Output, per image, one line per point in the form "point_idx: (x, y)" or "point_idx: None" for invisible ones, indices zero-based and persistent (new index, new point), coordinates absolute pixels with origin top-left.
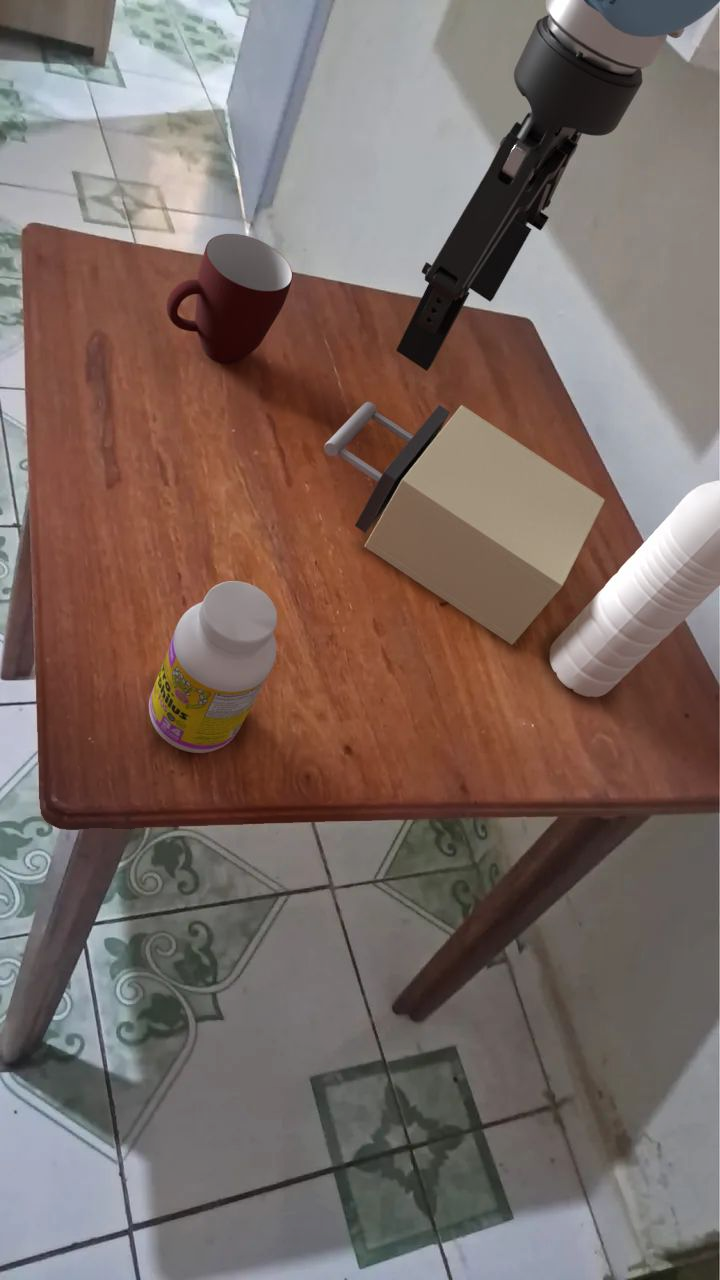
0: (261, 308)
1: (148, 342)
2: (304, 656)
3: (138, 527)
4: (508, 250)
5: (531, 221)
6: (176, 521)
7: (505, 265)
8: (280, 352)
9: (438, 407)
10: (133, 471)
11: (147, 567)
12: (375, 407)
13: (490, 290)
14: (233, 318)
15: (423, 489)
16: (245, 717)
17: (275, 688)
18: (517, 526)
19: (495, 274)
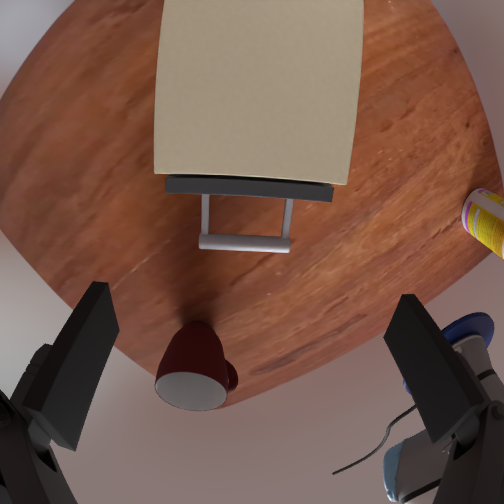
0: (212, 364)
1: (234, 358)
2: (430, 168)
3: (386, 290)
4: (72, 375)
5: (23, 425)
6: (372, 279)
7: (79, 343)
8: (158, 306)
9: (171, 192)
10: (347, 314)
11: (409, 272)
12: (200, 238)
13: (103, 303)
14: (224, 363)
15: (345, 159)
16: (495, 194)
17: (453, 177)
18: (317, 42)
19: (92, 330)
